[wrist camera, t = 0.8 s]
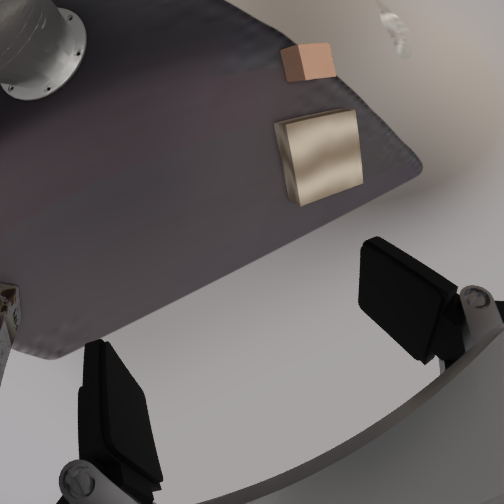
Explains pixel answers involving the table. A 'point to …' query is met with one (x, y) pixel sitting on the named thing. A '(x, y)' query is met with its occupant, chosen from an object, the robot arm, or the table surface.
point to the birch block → (319, 154)
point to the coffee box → (8, 321)
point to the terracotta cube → (308, 62)
